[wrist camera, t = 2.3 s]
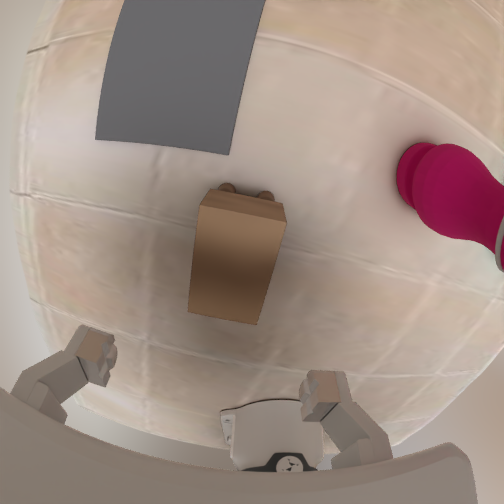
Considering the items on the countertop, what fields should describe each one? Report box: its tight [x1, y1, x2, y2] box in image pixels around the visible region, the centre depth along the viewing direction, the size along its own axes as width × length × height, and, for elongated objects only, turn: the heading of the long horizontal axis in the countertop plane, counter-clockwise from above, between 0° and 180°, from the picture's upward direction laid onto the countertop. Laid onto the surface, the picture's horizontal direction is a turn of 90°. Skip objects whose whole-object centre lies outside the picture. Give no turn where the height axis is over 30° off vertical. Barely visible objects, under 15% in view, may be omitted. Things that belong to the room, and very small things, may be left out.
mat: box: [95, 0, 265, 155], centre depth 16 cm, size 14×12×1 cm
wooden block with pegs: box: [188, 183, 287, 325], centre depth 20 cm, size 8×5×7 cm, turn 168°
